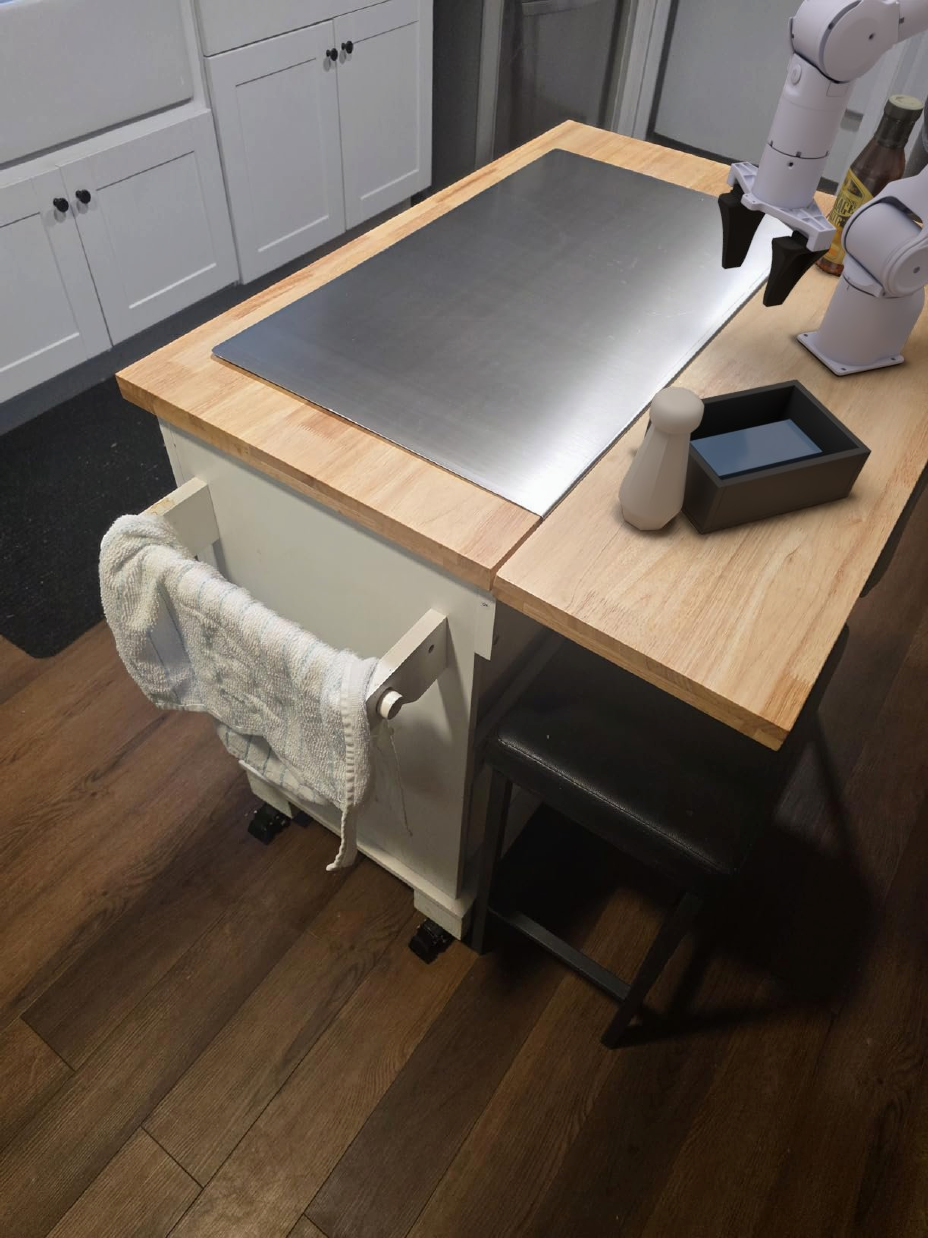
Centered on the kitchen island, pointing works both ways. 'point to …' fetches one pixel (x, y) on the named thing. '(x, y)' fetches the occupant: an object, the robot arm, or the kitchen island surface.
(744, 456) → the blue block in tray
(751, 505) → the tub
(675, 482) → the salt shaker
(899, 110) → the sauce bottle
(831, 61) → the robot arm
